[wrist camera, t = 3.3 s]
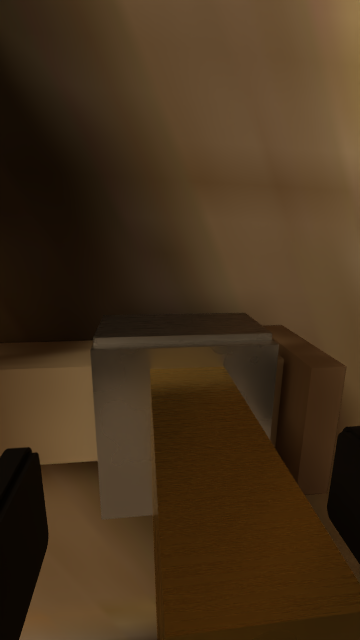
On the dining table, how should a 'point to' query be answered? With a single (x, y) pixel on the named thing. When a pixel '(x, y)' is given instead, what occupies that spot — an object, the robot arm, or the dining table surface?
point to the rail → (79, 418)
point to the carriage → (213, 481)
